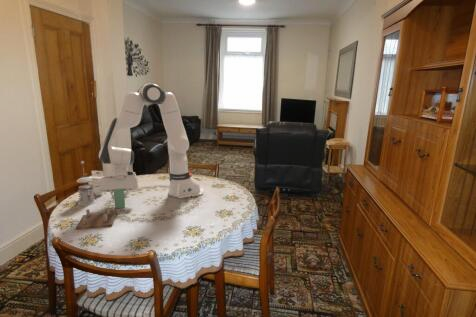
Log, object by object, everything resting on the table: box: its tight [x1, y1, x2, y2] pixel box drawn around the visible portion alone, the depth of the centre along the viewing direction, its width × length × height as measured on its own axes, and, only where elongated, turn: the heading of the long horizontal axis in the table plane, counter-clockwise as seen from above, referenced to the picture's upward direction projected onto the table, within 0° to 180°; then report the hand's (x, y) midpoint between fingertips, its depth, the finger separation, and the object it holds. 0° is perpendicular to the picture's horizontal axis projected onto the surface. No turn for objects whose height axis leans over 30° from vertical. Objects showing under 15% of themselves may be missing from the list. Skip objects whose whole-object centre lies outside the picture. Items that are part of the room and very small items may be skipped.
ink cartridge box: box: [87, 170, 107, 197], centre depth 179 cm, size 9×5×15 cm, turn 84°
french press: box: [76, 160, 97, 207], centre depth 165 cm, size 10×12×25 cm
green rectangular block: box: [113, 189, 126, 209], centre depth 162 cm, size 5×3×10 cm, turn 105°
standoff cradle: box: [75, 207, 117, 231], centre depth 146 cm, size 16×14×5 cm
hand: (119, 197), depth 161 cm, fingers closed on green rectangular block, 5 cm apart
